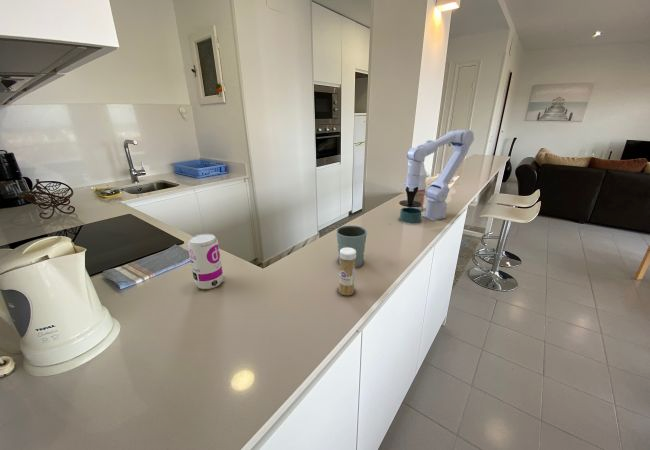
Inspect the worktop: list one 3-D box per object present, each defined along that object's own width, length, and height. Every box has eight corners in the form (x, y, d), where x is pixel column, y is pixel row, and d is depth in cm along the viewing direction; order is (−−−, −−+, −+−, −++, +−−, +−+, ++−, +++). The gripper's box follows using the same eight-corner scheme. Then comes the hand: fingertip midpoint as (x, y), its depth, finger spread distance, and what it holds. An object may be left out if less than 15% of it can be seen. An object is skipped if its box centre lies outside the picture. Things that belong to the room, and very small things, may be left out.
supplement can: (229, 278, 88) (223, 234, 82) (211, 292, 80) (203, 246, 75) (208, 273, 90) (201, 231, 85) (189, 287, 83) (179, 242, 78)
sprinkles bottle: (336, 294, 80) (337, 252, 75) (341, 285, 84) (342, 245, 79) (351, 297, 78) (353, 255, 74) (356, 289, 82) (358, 248, 77)
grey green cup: (370, 261, 98) (372, 230, 94) (353, 272, 91) (354, 239, 87) (348, 252, 104) (349, 223, 100) (330, 262, 98) (330, 230, 93)
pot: (410, 216, 143) (411, 206, 141) (424, 222, 135) (426, 212, 133) (395, 219, 139) (396, 208, 137) (408, 225, 131) (410, 214, 129)
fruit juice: (401, 208, 155) (407, 158, 145) (410, 205, 161) (416, 156, 151) (417, 212, 149) (423, 159, 139) (425, 209, 155) (432, 158, 145)
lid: (411, 201, 141) (412, 191, 139) (426, 206, 132) (427, 196, 130) (394, 203, 137) (395, 193, 135) (408, 209, 128) (410, 199, 126)
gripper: (406, 171, 137) (403, 197, 142) (403, 176, 124) (400, 205, 129) (421, 172, 134) (417, 199, 139) (419, 177, 122) (416, 207, 127)
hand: (410, 202), depth 134 cm, fingers closed on lid, 2 cm apart
